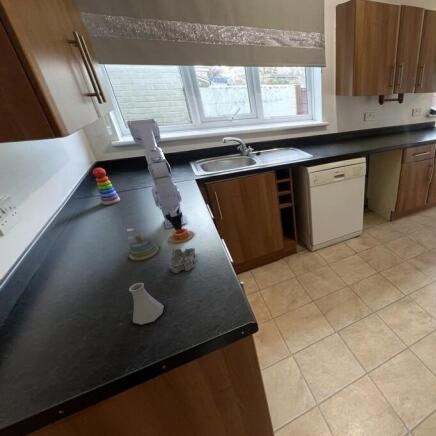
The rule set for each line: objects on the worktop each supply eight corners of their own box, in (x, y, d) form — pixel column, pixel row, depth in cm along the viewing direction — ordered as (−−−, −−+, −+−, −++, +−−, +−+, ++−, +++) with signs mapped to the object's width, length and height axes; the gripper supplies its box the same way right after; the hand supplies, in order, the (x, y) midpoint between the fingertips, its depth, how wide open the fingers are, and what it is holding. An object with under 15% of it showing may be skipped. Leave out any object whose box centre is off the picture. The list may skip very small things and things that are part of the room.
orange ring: (173, 235, 110) (171, 230, 109) (187, 231, 113) (186, 227, 111) (174, 241, 106) (173, 236, 105) (189, 237, 108) (188, 232, 107)
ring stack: (130, 251, 101) (122, 233, 98) (158, 243, 105) (151, 226, 102) (129, 263, 94) (121, 245, 91) (159, 255, 98) (152, 237, 95)
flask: (168, 304, 77) (157, 276, 72) (155, 324, 71) (142, 296, 66) (143, 305, 77) (130, 277, 72) (127, 325, 70) (112, 297, 66)
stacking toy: (99, 206, 138) (83, 171, 129) (106, 200, 145) (91, 166, 136) (117, 204, 140) (102, 169, 131) (122, 198, 147) (109, 164, 138)
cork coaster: (168, 235, 111) (168, 234, 111) (192, 229, 115) (191, 228, 115) (170, 245, 104) (169, 244, 104) (195, 238, 108) (194, 238, 108)
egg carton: (175, 256, 98) (172, 247, 96) (198, 253, 99) (195, 243, 97) (168, 275, 88) (165, 265, 86) (193, 270, 90) (190, 260, 88)
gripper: (154, 190, 104) (165, 220, 111) (156, 203, 93) (167, 236, 100) (174, 186, 107) (184, 216, 114) (178, 198, 96) (188, 231, 103)
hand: (177, 225), depth 107 cm, fingers open, 7 cm apart
